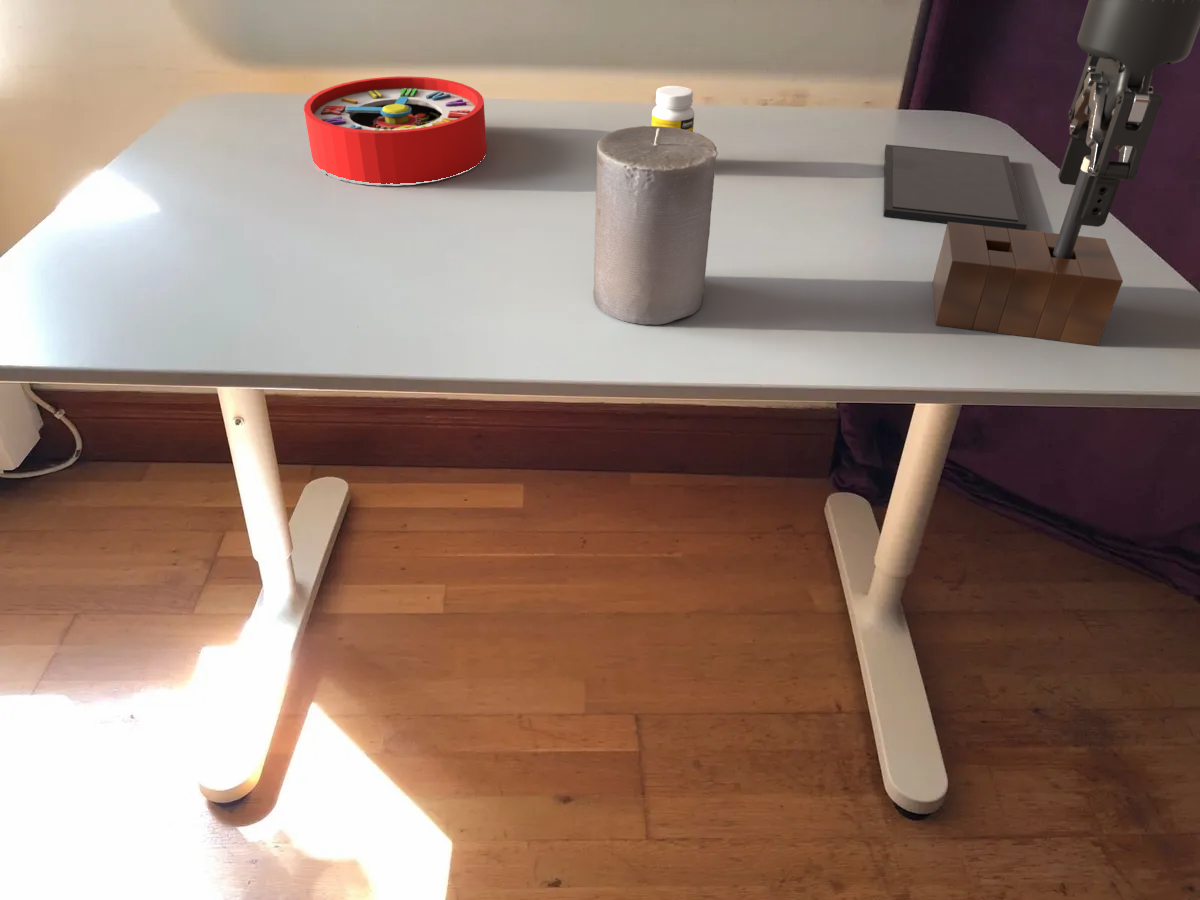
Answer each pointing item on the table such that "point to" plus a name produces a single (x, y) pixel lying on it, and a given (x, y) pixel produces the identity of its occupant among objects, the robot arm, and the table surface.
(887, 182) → the tablet
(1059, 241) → the stylus
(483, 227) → the table surface
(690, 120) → the supplement bottle
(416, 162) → the toy clock
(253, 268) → the table surface
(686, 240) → the pillar candle
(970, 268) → the pen stand
